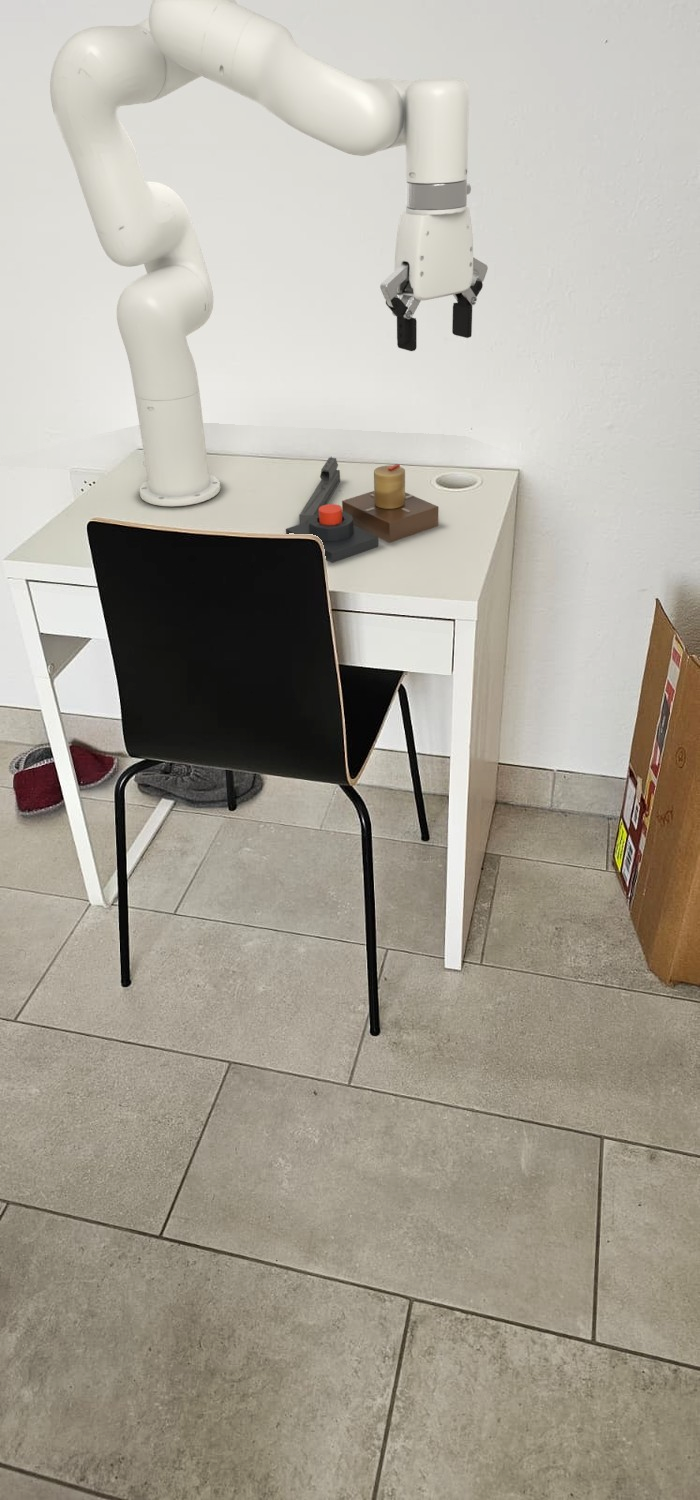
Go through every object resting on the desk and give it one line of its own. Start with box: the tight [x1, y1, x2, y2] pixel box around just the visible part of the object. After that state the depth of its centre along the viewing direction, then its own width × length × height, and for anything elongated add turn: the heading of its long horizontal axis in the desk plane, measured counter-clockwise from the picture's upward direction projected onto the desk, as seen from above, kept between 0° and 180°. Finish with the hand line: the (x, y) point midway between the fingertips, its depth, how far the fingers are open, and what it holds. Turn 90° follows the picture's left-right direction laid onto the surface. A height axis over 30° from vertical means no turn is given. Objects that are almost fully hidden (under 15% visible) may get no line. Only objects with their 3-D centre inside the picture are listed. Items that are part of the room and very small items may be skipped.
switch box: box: [285, 512, 379, 564], centre depth 141 cm, size 11×8×4 cm
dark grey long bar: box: [298, 456, 341, 524], centre depth 153 cm, size 19×3×4 cm, turn 168°
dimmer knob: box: [373, 463, 406, 509], centre depth 144 cm, size 4×4×5 cm
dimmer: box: [341, 490, 439, 544], centre depth 146 cm, size 11×9×3 cm
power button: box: [319, 503, 342, 525], centre depth 140 cm, size 3×3×2 cm
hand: (434, 342), depth 135 cm, fingers open, 9 cm apart
